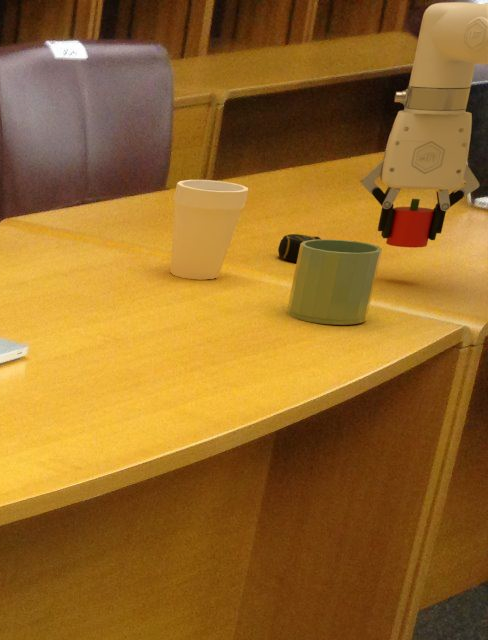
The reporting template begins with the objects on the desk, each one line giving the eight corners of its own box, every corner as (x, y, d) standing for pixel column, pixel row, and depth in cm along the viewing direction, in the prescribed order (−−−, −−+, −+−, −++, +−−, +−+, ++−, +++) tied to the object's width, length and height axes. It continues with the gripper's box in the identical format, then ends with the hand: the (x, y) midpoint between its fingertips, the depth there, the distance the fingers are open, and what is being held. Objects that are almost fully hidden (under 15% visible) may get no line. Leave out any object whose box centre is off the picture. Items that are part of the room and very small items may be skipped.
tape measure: (330, 269, 227) (336, 244, 225) (282, 266, 228) (288, 241, 226) (317, 259, 233) (323, 234, 231) (270, 256, 234) (276, 231, 232)
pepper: (434, 246, 215) (444, 199, 213) (411, 250, 213) (421, 202, 210) (400, 241, 220) (410, 195, 217) (377, 245, 217) (387, 198, 214)
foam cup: (145, 273, 222) (163, 181, 216) (196, 269, 225) (215, 178, 219) (189, 288, 214) (209, 193, 208) (241, 284, 217) (263, 190, 211)
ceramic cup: (381, 323, 196) (397, 251, 192) (315, 326, 194) (330, 254, 190) (336, 306, 204) (351, 238, 200) (272, 309, 203) (286, 240, 199)
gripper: (370, 102, 208) (344, 239, 215) (512, 104, 202) (479, 244, 210) (364, 98, 214) (339, 231, 222) (502, 100, 209) (471, 236, 216)
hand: (408, 236), depth 216 cm, fingers closed on pepper, 5 cm apart
